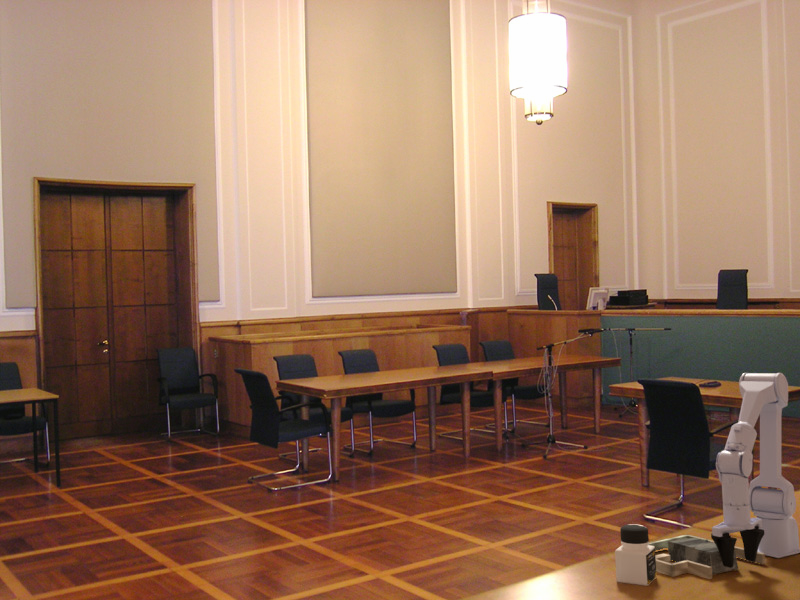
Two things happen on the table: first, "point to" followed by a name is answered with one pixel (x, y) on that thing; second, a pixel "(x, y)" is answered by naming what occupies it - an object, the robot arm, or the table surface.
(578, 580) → the table surface
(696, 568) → the trap lane
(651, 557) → the medicine bottle
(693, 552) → the stone block
